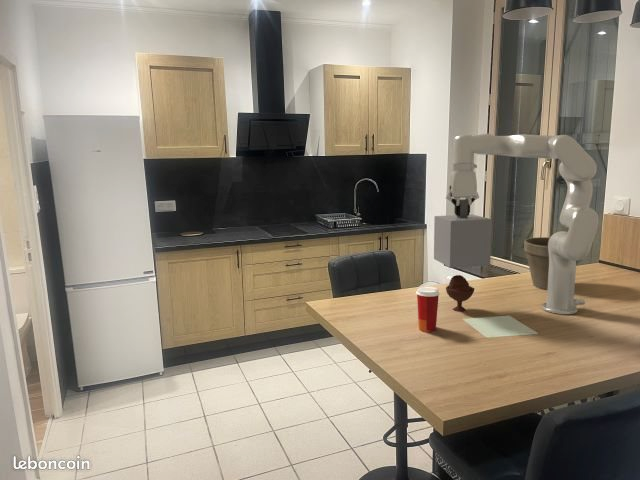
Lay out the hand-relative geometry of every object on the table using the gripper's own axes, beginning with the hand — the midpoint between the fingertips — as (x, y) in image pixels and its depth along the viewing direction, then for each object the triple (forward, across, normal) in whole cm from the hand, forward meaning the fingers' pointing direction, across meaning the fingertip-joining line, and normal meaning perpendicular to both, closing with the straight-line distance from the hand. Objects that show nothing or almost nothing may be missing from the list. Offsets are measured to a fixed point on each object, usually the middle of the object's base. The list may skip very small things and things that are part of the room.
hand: (462, 215), depth 178 cm
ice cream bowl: (+39, 0, 0) cm, 39 cm away
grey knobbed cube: (+19, 0, 0) cm, 19 cm away
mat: (+39, -6, +20) cm, 44 cm away
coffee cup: (+39, +20, +17) cm, 47 cm away
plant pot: (+39, -56, -24) cm, 73 cm away
